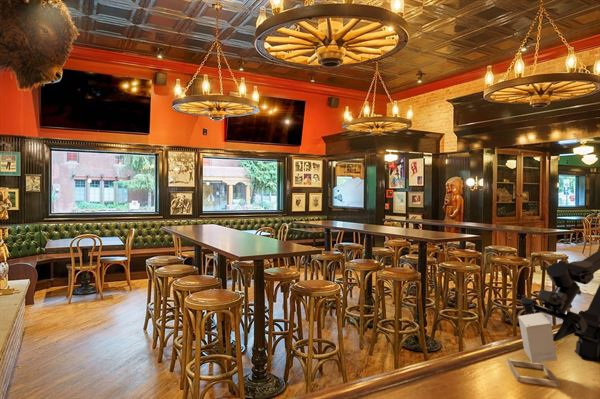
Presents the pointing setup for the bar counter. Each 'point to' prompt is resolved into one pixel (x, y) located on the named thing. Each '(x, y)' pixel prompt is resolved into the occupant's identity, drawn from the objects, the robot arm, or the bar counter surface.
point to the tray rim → (540, 381)
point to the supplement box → (537, 338)
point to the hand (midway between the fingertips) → (538, 334)
